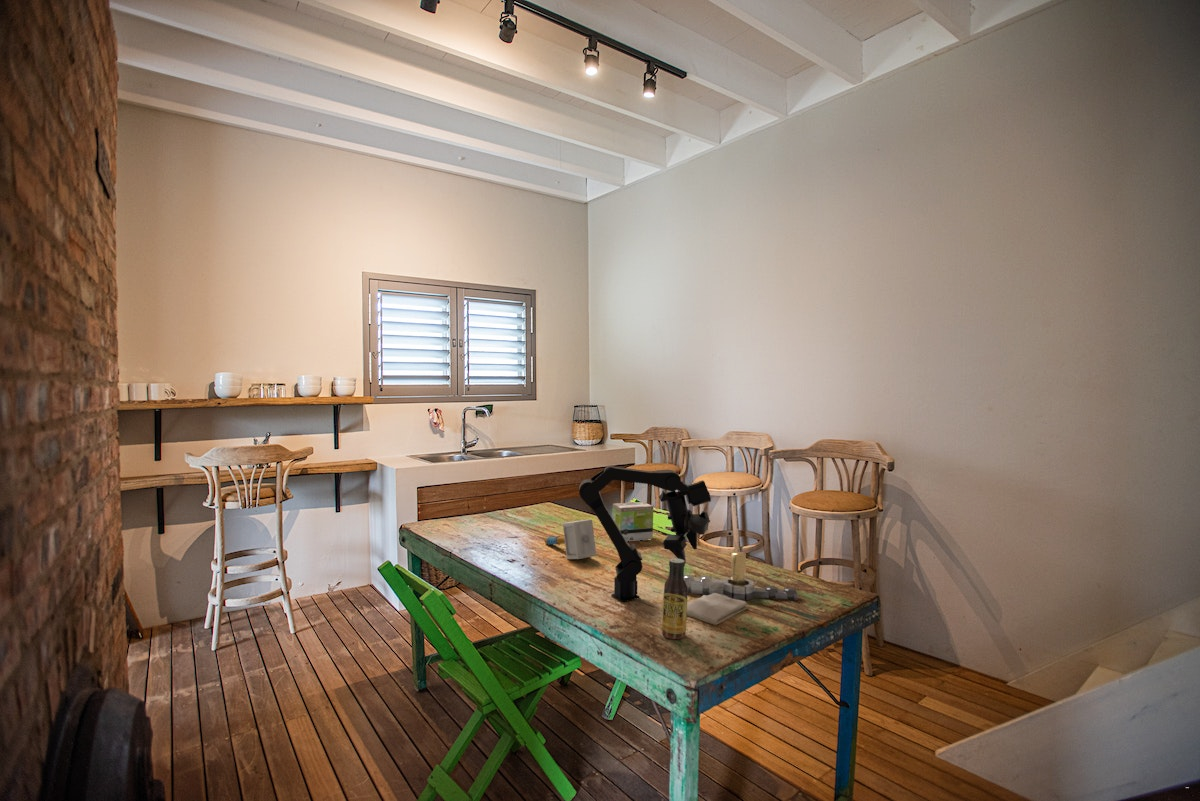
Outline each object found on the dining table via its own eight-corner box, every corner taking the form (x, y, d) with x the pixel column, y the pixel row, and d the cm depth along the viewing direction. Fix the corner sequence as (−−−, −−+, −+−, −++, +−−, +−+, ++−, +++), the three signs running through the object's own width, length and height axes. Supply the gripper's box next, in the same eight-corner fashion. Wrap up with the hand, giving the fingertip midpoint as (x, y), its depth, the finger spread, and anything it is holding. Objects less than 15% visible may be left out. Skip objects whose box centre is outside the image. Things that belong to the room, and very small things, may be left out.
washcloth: (749, 609, 172) (749, 599, 172) (716, 628, 159) (716, 616, 158) (714, 599, 180) (714, 589, 180) (680, 616, 167) (680, 605, 167)
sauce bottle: (659, 638, 151) (659, 562, 150) (665, 629, 157) (665, 555, 156) (684, 642, 148) (684, 564, 148) (689, 632, 154) (690, 558, 154)
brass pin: (738, 598, 179) (739, 556, 179) (727, 594, 183) (728, 552, 183) (748, 595, 182) (748, 554, 181) (737, 591, 185) (738, 550, 185)
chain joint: (681, 596, 181) (681, 580, 181) (682, 586, 190) (682, 571, 190) (799, 604, 175) (799, 588, 174) (794, 593, 184) (794, 578, 184)
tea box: (620, 543, 241) (620, 507, 240) (611, 537, 250) (611, 503, 250) (653, 540, 246) (653, 505, 246) (643, 534, 256) (643, 500, 255)
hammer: (540, 559, 236) (579, 559, 212) (536, 525, 238) (574, 521, 214) (558, 556, 241) (598, 555, 217) (554, 523, 243) (593, 519, 219)
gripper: (690, 523, 168) (702, 572, 170) (712, 496, 183) (723, 542, 186) (656, 523, 174) (668, 571, 176) (680, 497, 189) (691, 542, 192)
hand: (689, 556), depth 182 cm, fingers open, 9 cm apart
